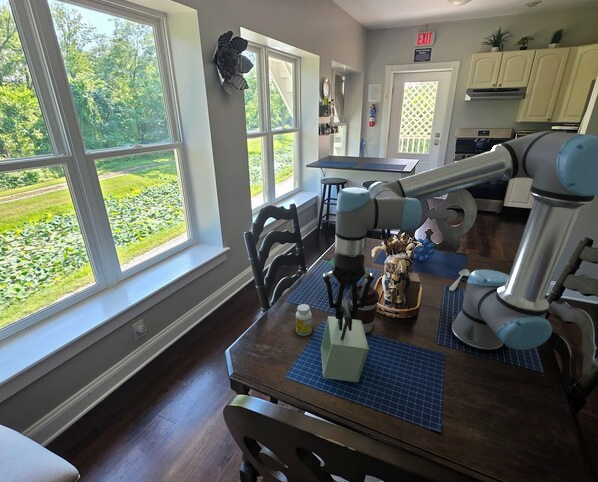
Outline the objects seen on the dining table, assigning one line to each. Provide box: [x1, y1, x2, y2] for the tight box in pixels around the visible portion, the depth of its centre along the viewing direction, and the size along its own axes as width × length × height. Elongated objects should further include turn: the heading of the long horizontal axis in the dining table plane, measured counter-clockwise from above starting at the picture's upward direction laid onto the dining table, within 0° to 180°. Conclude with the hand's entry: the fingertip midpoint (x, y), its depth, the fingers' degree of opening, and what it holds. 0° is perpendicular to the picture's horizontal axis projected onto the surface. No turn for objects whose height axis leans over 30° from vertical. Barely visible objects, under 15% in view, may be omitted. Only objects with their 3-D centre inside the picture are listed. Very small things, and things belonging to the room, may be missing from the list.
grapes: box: [413, 238, 436, 262], centre depth 154 cm, size 12×7×12 cm, turn 46°
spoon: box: [448, 268, 471, 292], centre depth 138 cm, size 4×21×2 cm, turn 138°
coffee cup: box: [348, 284, 380, 334], centre depth 108 cm, size 10×10×15 cm
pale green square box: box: [320, 297, 370, 383], centre depth 90 cm, size 20×12×10 cm
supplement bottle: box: [295, 303, 313, 337], centre depth 107 cm, size 5×5×10 cm
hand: (344, 327), depth 89 cm, fingers closed on pale green square box, 2 cm apart
